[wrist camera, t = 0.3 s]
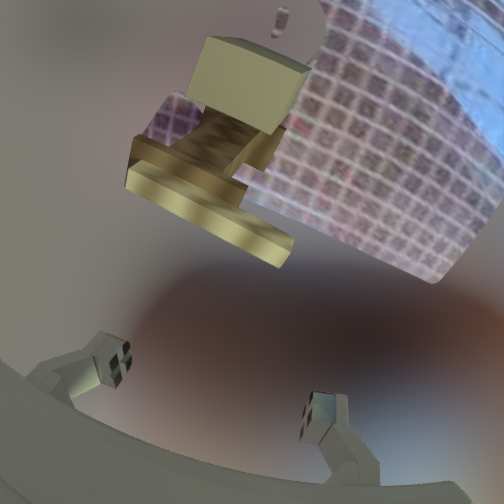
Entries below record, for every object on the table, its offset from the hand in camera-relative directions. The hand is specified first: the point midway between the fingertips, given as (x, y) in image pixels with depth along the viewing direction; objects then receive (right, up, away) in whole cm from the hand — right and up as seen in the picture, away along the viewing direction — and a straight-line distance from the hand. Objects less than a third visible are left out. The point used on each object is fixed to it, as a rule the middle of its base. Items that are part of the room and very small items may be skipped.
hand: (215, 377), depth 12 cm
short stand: (-1, +29, +45) cm, 54 cm away
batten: (-3, +11, +26) cm, 28 cm away
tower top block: (+2, +33, +31) cm, 45 cm away
